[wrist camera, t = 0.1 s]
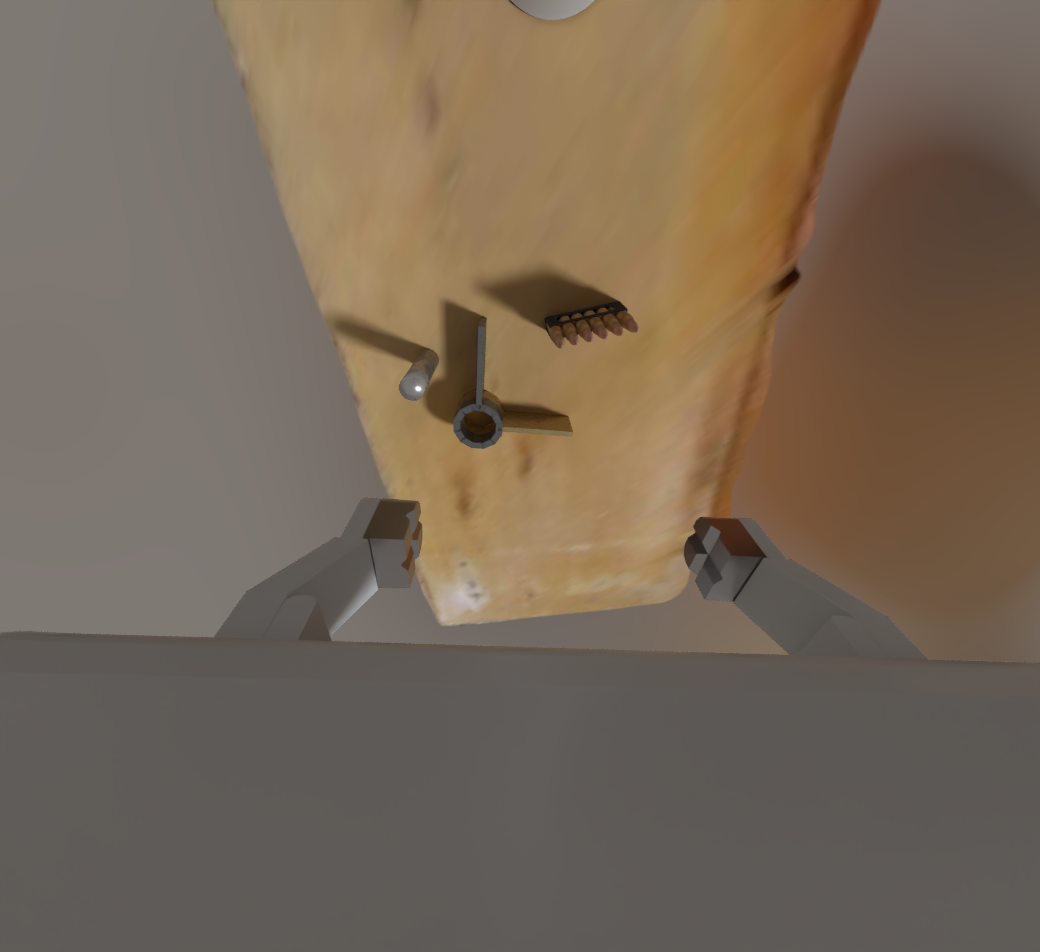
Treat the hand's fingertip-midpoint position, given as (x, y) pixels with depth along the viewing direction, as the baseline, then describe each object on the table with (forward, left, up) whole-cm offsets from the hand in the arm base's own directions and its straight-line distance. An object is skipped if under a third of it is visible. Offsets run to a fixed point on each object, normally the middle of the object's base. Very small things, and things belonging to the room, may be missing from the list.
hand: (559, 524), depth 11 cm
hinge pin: (+11, -13, -48) cm, 51 cm away
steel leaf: (+14, -5, -48) cm, 50 cm away
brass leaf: (+19, 0, -48) cm, 52 cm away
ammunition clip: (+3, +9, -48) cm, 49 cm away
